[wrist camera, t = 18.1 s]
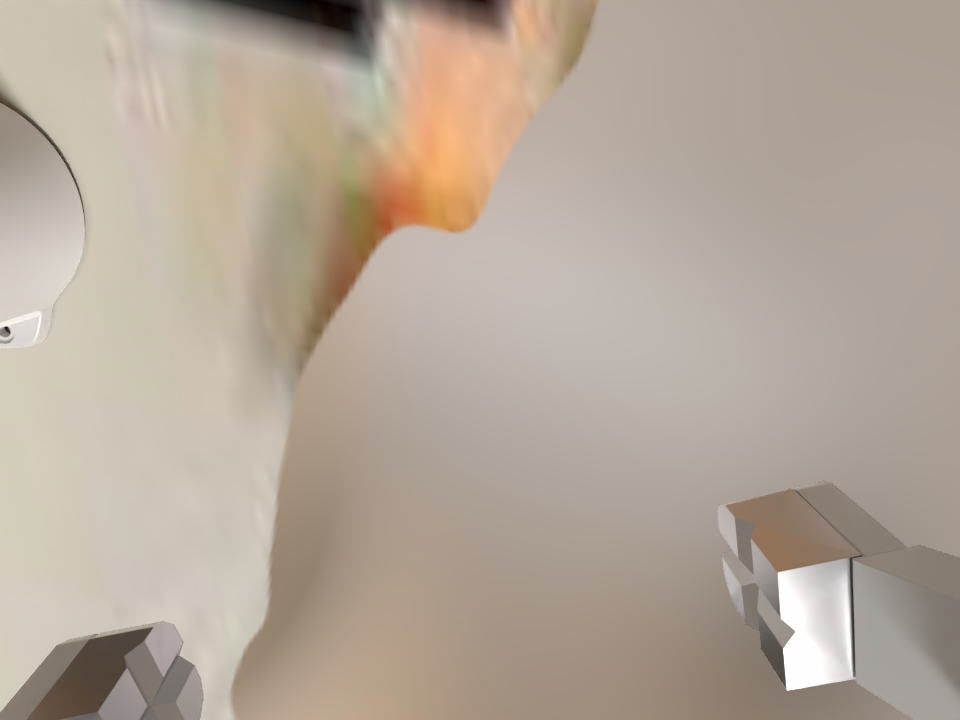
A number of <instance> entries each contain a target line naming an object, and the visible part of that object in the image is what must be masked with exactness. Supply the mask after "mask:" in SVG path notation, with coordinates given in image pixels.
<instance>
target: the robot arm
mask: <svg viewBox="0 0 960 720" xmlns="http://www.w3.org/2000/svg"><path fill="white" fill-rule="evenodd" d="M84 239H85V222H84V214H83V208H82V204H81V199H80V196H79V193H78V190H77V187H76V185H75V182H74V180H73V178H72V176H71V174H70V172H69V170H68V168H67V166H66V165H65V163H64V161H63V160H62V158H61V157H60V155H59V154H58V152H57V151H56V150H55V148H54V147H53V146H52V145H51V143H50V142H49V141H48V140H47V139H46V138H45V137H44V136H43V135H42V134H41V133H40V132H39V131H38V130H37V129H36V128H35V127H34V126H33V125H32V124H31V123H30V122H28V121H27V120H26V119H25V118H23V117H22V116H21V115H19V114H18V113H16V112H15V111H13V110H12V109H10V108H9V107H7V106H5V105H4V104H2V103H0V348H15V347H28V346H32V345H35V344H39V343H41V342H42V341H43V340H44V339H45V338H46V336H47V334H48V331H49V327H50V323H51V317H52V310H53V305H54V303H55V301H56V300H57V298H58V296H59V295H60V294H61V292H62V291H63V290H64V289H65V287H66V286H67V285H68V283H69V282H70V281H71V279H72V277H73V276H74V274H75V272H76V270H77V268H78V265H79V263H80V260H81V256H82V252H83V247H84ZM5 326H7V327H8V328H9V329H10V332H11V333H8V332H7V331H6V330H5ZM717 516H718V526H719V531H720V533H721V534H722V536H723V537H724V538H725V540H726V541H727V543H728V544H729V545H728V547H727V549H726V550H725V552H724V554H723V555H722V560H723V568H724V575H725V579H726V582H727V586H728V589H729V592H730V596H731V598H732V600H733V602H734V604H735V606H736V608H737V611H738V612H739V614H740V616H741V617H742V619H743V621H744V622H745V624H746V625H748V626H750V627H752V628H754V629H756V630H758V631H759V634H760V643H761V650H762V652H763V653H764V655H765V656H766V658H767V659H768V661H769V663H770V664H771V666H772V667H773V669H774V670H775V672H776V674H777V675H778V677H779V678H780V680H781V682H782V683H783V685H784V686H785V688H786V690H792V689H798V688H803V687H809V686H816V685H822V684H828V683H833V682H840V681H846V680H852V679H856V683H858V684H859V685H861V686H862V687H864V688H865V689H867V690H869V691H870V692H872V693H873V694H875V695H877V696H878V697H880V698H881V699H883V700H884V701H886V702H888V703H889V704H890V705H892V706H894V707H895V708H897V709H898V710H900V711H901V712H903V713H905V714H906V715H908V716H909V717H911V718H912V719H914V720H960V558H959V557H956V556H953V555H950V554H946V553H943V552H940V551H937V550H934V549H931V548H927V547H925V546H921V545H917V546H912V547H907V546H906V545H904V544H903V543H902V542H901V541H900V540H899V539H897V538H896V537H895V536H894V535H892V534H891V533H890V532H889V531H888V530H887V529H886V528H884V527H883V526H882V525H881V524H880V523H879V522H877V521H876V520H875V519H874V518H872V517H871V516H870V515H869V514H868V513H867V512H865V511H864V510H863V509H862V508H861V507H860V506H859V505H857V504H856V503H855V502H854V501H853V500H851V499H850V498H849V497H848V496H846V495H845V494H844V493H843V492H842V491H841V490H840V489H838V488H837V487H836V486H835V485H834V484H833V483H831V482H827V481H819V482H815V483H812V484H807V485H803V486H799V487H795V488H790V489H789V490H786V491H782V492H777V493H773V494H768V495H764V496H759V497H755V498H751V499H746V500H741V501H736V502H732V503H727V504H723V505H719V506H718V515H717ZM182 645H183V640H182V638H181V636H180V635H179V633H178V631H177V629H176V627H175V625H174V624H171V623H167V622H164V621H162V622H157V623H152V624H146V625H141V626H135V627H130V628H125V629H119V630H114V631H109V632H103V633H100V634H93V635H89V636H84V637H79V638H74V639H70V640H67V641H65V642H63V643H61V644H59V645H57V646H56V647H55V648H54V649H53V650H52V652H51V653H50V654H49V655H48V656H47V658H46V659H45V660H44V661H43V662H42V664H41V665H40V666H39V667H38V668H37V670H36V671H35V672H34V673H33V674H32V675H31V677H30V678H29V679H28V680H27V681H26V683H25V684H24V685H23V686H22V687H21V689H20V690H19V691H18V692H17V693H16V695H15V696H14V697H13V698H12V699H11V700H10V702H9V703H8V704H7V705H6V706H5V708H4V709H3V710H2V711H1V712H0V720H200V717H201V711H202V703H203V689H202V683H201V678H200V676H199V674H198V672H197V669H196V667H195V665H193V664H192V663H190V662H188V661H187V660H185V659H184V658H182V657H180V656H179V654H180V651H181V648H182Z"/></svg>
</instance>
